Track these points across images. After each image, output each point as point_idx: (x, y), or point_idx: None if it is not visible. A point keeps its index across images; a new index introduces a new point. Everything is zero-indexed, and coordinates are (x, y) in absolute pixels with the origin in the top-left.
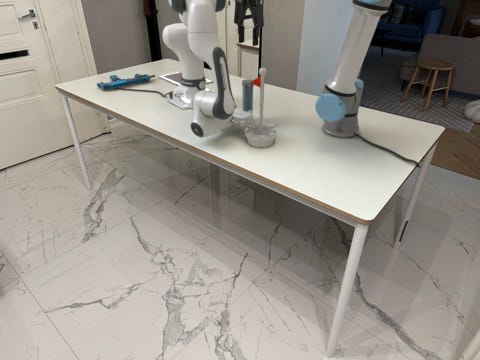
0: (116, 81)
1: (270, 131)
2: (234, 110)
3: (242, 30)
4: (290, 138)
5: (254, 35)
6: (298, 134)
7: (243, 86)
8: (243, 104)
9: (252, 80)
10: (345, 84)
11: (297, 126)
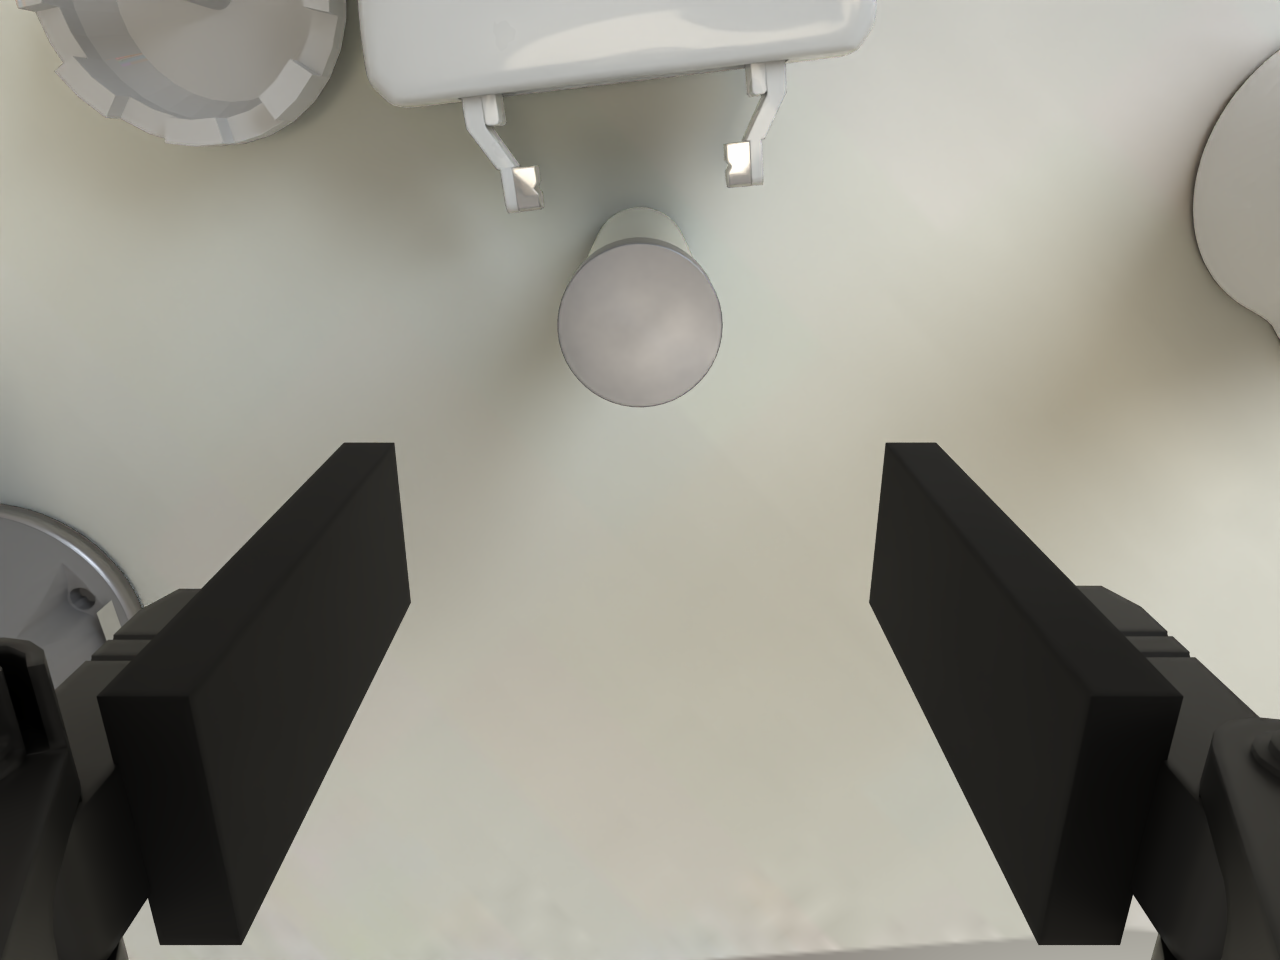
0: None
1: (200, 117)
2: (584, 5)
3: (988, 725)
4: (124, 242)
5: (229, 583)
6: (146, 349)
7: None
8: (648, 222)
9: (613, 389)
10: None
11: (266, 463)
